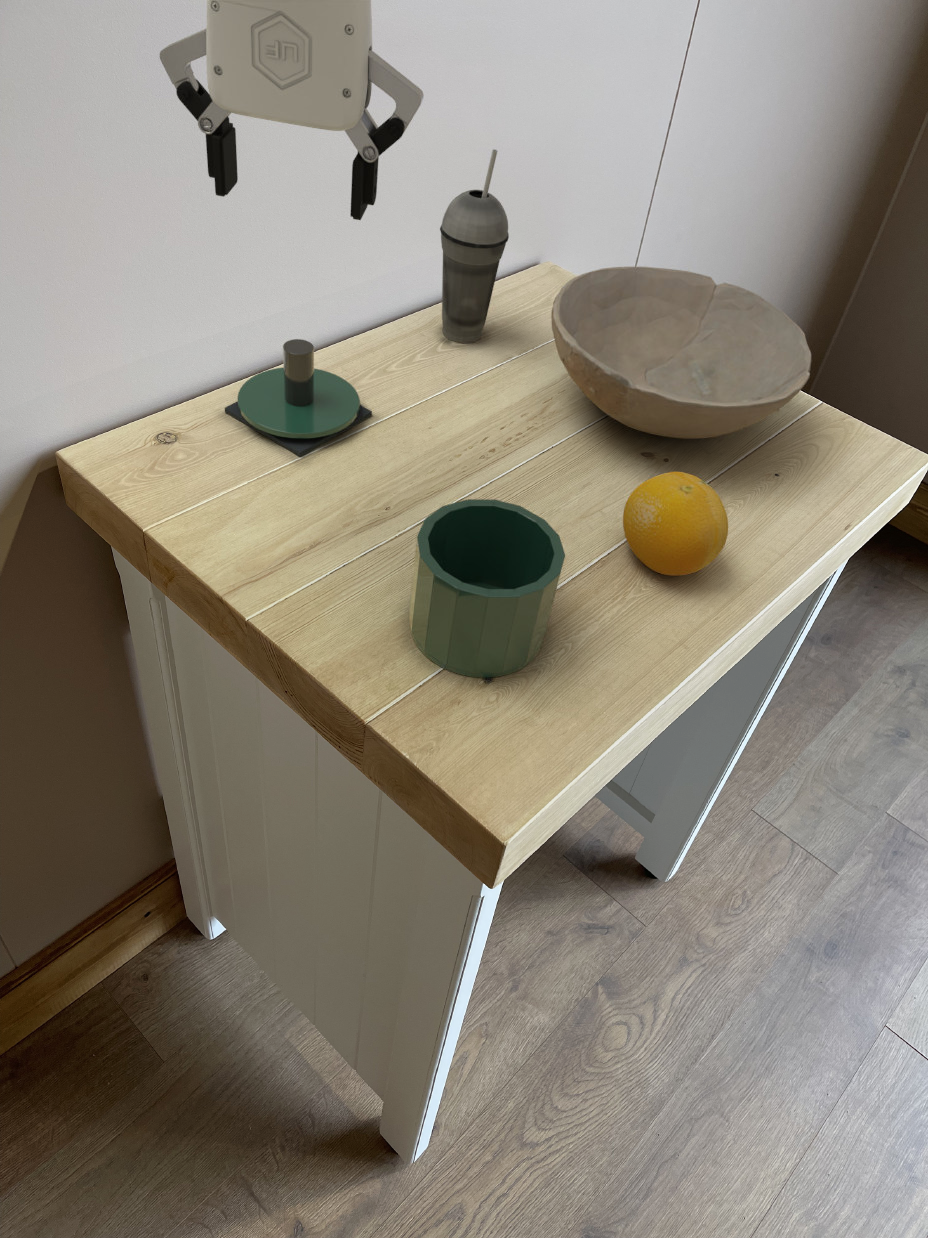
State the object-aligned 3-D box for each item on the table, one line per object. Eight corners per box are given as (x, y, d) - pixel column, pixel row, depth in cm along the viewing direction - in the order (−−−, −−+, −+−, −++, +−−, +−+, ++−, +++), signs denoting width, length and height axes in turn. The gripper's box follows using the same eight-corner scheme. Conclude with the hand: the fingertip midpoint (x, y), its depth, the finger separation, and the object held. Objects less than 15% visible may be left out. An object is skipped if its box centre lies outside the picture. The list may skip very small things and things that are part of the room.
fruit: (728, 566, 81) (759, 494, 75) (676, 607, 76) (705, 533, 71) (648, 515, 85) (672, 443, 79) (594, 551, 80) (616, 477, 75)
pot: (381, 628, 71) (387, 545, 65) (464, 562, 77) (476, 481, 71) (491, 700, 67) (508, 620, 61) (568, 625, 74) (591, 545, 68)
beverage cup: (455, 310, 108) (476, 127, 94) (506, 333, 105) (535, 149, 91) (417, 331, 103) (433, 142, 89) (469, 356, 101) (494, 166, 87)
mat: (224, 412, 88) (224, 407, 88) (298, 374, 95) (298, 370, 94) (300, 457, 85) (300, 452, 85) (371, 415, 91) (372, 410, 91)
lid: (212, 406, 88) (206, 343, 83) (298, 364, 95) (297, 303, 90) (300, 459, 84) (299, 395, 79) (383, 411, 91) (387, 349, 86)
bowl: (816, 411, 101) (854, 328, 94) (716, 524, 85) (752, 433, 78) (612, 322, 110) (632, 240, 103) (486, 408, 94) (500, 318, 87)
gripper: (122, -115, 51) (155, 199, 63) (428, -61, 52) (403, 242, 63) (168, -129, 57) (190, 162, 69) (444, -81, 57) (419, 202, 69)
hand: (293, 200), depth 66 cm, fingers open, 9 cm apart
